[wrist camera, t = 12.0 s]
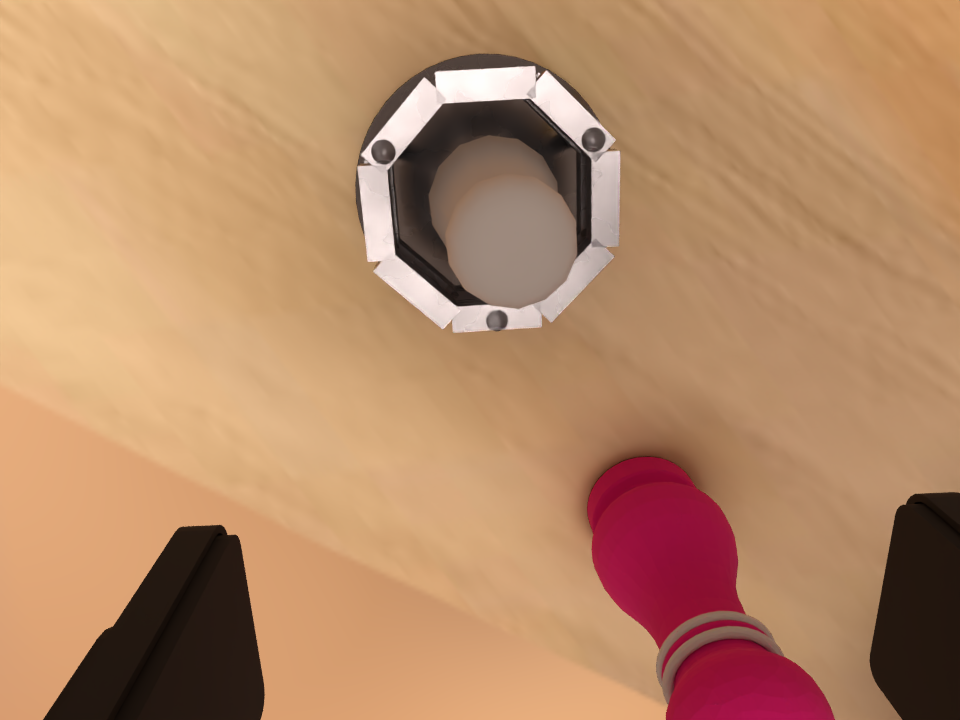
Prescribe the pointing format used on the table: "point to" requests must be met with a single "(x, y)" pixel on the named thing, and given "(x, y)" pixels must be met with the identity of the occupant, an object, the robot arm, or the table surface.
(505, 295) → the salt shaker
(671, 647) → the pepper mill
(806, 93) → the table surface
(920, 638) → the robot arm
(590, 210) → the collar stand
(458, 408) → the table surface
